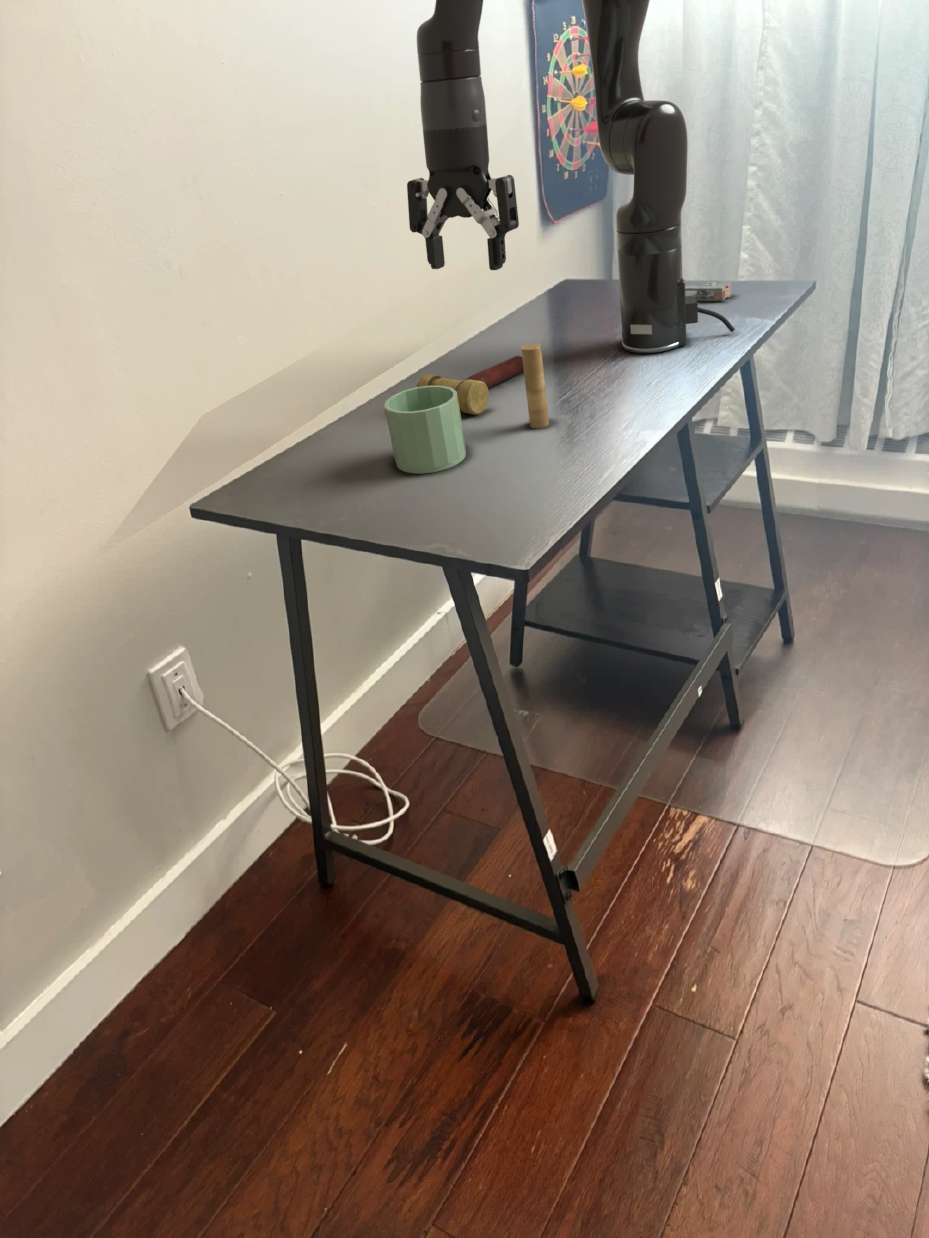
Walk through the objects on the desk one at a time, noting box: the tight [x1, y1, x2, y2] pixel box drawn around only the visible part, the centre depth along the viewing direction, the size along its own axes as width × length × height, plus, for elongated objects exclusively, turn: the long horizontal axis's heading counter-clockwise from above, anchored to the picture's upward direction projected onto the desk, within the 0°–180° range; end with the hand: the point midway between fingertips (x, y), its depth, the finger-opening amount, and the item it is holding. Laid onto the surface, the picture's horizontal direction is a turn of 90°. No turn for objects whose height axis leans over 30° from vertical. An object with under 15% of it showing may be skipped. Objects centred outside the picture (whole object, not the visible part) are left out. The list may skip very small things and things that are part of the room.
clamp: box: [685, 281, 731, 302], centre depth 164 cm, size 15×2×10 cm
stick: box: [520, 342, 550, 429], centre depth 124 cm, size 2×2×10 cm
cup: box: [383, 386, 467, 475], centre depth 120 cm, size 9×9×8 cm
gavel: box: [415, 355, 524, 416], centre depth 140 cm, size 21×5×10 cm
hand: (466, 268), depth 120 cm, fingers open, 8 cm apart
